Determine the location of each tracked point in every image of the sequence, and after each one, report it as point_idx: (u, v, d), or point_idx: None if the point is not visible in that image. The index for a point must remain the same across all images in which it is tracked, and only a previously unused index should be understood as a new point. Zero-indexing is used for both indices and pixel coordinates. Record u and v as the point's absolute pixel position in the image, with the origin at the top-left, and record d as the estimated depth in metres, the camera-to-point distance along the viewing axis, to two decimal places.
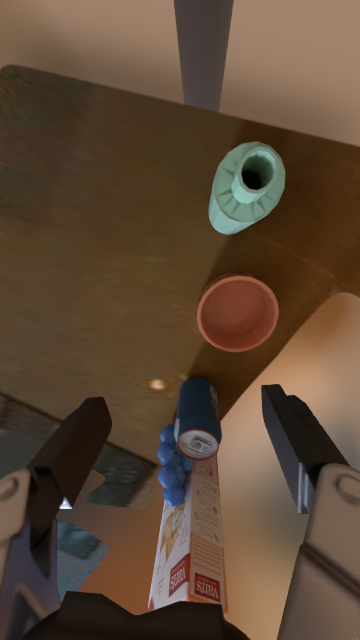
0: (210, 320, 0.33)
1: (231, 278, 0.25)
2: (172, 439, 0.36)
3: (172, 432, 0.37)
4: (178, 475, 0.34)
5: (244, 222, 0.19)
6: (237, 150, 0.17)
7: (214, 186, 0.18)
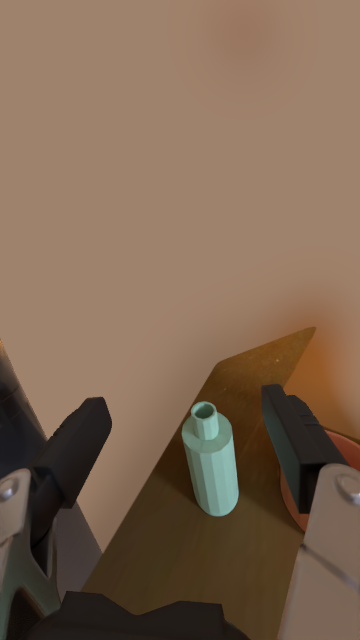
0: None
1: None
2: None
3: None
4: None
5: (231, 432, 0.23)
6: (184, 435, 0.24)
7: (203, 453, 0.22)
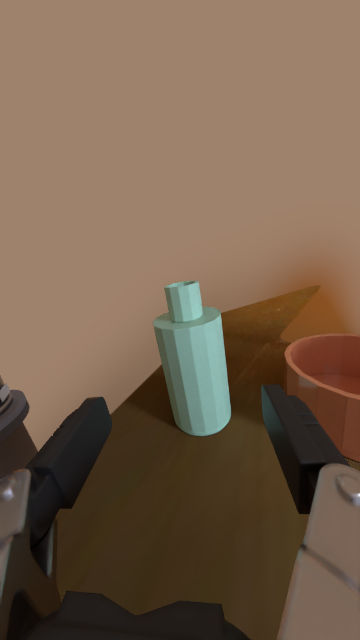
0: None
1: (293, 367, 0.17)
2: None
3: None
4: None
5: (219, 314, 0.17)
6: (156, 322, 0.18)
7: (178, 329, 0.15)
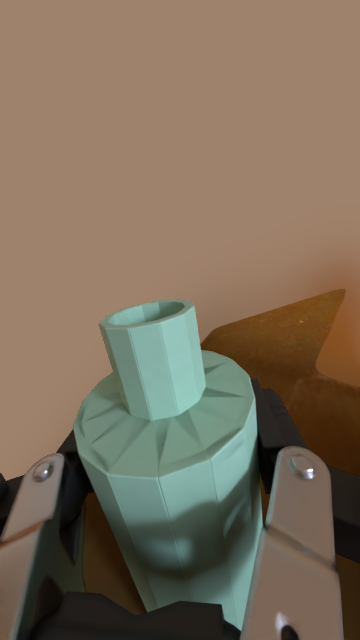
0: None
1: None
2: None
3: None
4: None
5: None
6: (86, 407, 0.07)
7: (124, 476, 0.05)
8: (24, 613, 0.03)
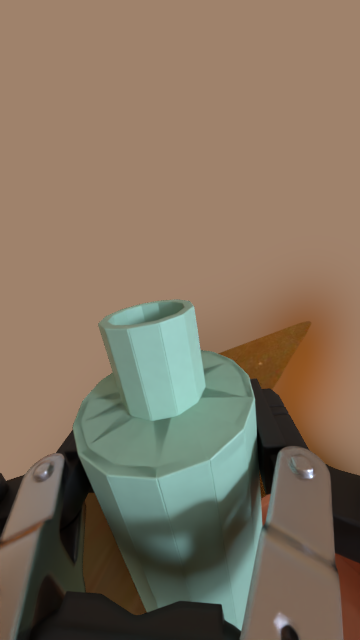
0: None
1: None
2: None
3: None
4: None
5: None
6: (86, 408, 0.07)
7: (124, 476, 0.05)
8: (24, 613, 0.03)
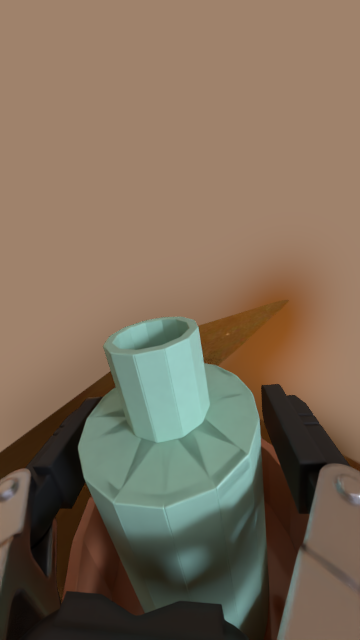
0: None
1: (85, 515, 0.10)
2: None
3: None
4: None
5: (255, 414, 0.06)
6: (90, 426, 0.07)
7: (130, 504, 0.05)
8: None
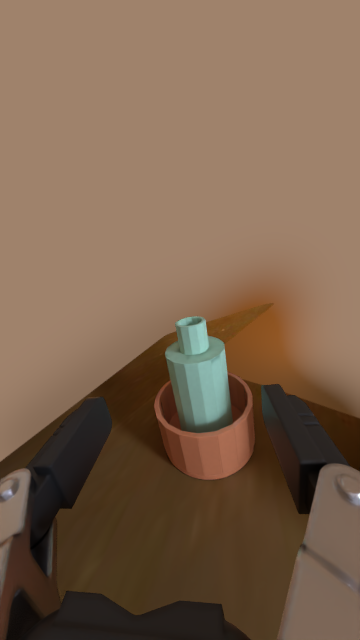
0: None
1: (156, 400, 0.23)
2: None
3: None
4: None
5: (223, 348, 0.20)
6: (168, 354, 0.20)
7: (188, 364, 0.18)
8: None
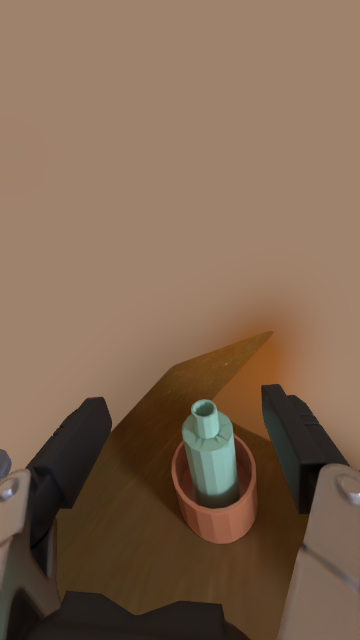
0: None
1: (173, 465, 0.27)
2: None
3: None
4: None
5: (232, 431, 0.23)
6: (184, 434, 0.24)
7: (203, 451, 0.21)
8: None
